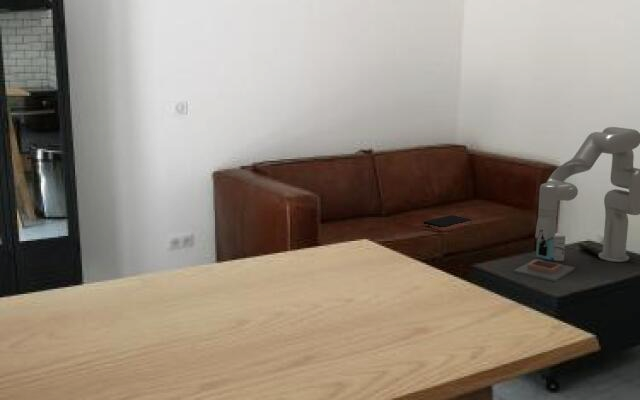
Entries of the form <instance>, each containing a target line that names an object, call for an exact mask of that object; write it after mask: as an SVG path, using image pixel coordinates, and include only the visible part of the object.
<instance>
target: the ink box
mask: <svg viewBox="0 0 640 400" xmlns="http://www.w3.org/2000/svg"><path fill="white" fill-rule="evenodd" d="M553 239H555V241H554V255H553V257H552V258H550V259H547V258H542V259H543V261H548V262H553V261H555V262H556V261H557V262H559V261H560V262H564V261H565V250H566V249H565V248H566V236H565V234H563V233H561V232H560V233H559V232H555V236H554V237H553Z"/></svg>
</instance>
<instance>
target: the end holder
mask: <svg viewBox="0 0 640 400" xmlns="http://www.w3.org/2000/svg"><path fill="white" fill-rule="evenodd" d="M575 269H576V267H575V266H570V265H564V264H562V263H558V262H557V263H556V262H553V261H545V260H544V259H543V260H542V259H536V258H534V259H533V260H531V261H529V262H527V263H525V264H524V265H521V266H519V267H517V268H516V269H514V270H513V273H515V274H519V275H524V276H529V277H533V278H537V279H541V280H546V281H551V282H554V281H555V282H557V281H559V280H560V279H562V278H563V277H565V276H566V275H568V274H570V273H572V271H573V272H574V270H575Z"/></svg>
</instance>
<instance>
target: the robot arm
mask: <svg viewBox="0 0 640 400" xmlns="http://www.w3.org/2000/svg"><path fill="white" fill-rule="evenodd" d="M639 146H640V132H639V131H638V130H636V129H632V128H625V127H618V126H617V127H615V126H609V127H606V128H604V129H603V130H602V132H600V131H595V132H591V133H590V134H588V136H586V139H585V140H584V141H583V143H582V144H581V146H580V147H579V149H578V150H577V152H576V153H575V154H574V156H573V157H572V158H571V159H569V160H568V161H565V162H564V163H563V164H561V165H560V166H558V167H557V168H556V169H555V170H554V171H553V172H552V173H551V174H550V176H549V178H548V179H547V181H546V182H545V183H541V184H540V186H539V194H538V213H537V214H538V217H537V220H536V228H535V236H534V237H535V239H536V243H537V242H538V243H539V255H542V256H546V254H547V247H546V243H547V240H548V239H550V238H553V237H554V236H555V233H557V232H556V230H557V229H556V227H557V217H558V209H559V208H558V205H559V201H566V202H568V201H572V200H575V198H577V195H578V194H579V193H578V192H579V191H578V187H577V186H576V185H575V184H573V183H570V182H566V181H565V180H567V179H568V178H569V177H571V176H574V175H577V174H581V173H585V172H587V171H590V170H592V167H594V165H595V164H596V162H597V161H598V159H599V158H600V156H601V155H602V154H608V155H611V157H612V159H611V169H610V183H611V184H612V185H613V186H615V187H617V189H615V188H614V189H611V190H608V191H607V192H606V193H605V196H604V197H603V198H604V199H603V203H604V209H605V210H604V213H605V217H604V218H605V219H604V231H603V244H602V251H601V252H599V253H598V257H599V258H600V260H603V261H604V260H605V261H609V262H613V263H614V262H615V263H621V262H624V263H625V262H627V261H629V260H630V256H629V255H628V254H627V253H626V250H627V242H628V231H629V217H628V215H632V216H638V215H639V216H640V168H637V167H634V161H635V160H634V159H635V158H634V151H633V150H635V149H637V148H638V147H639ZM618 187H619V188H622V189H625V190H622V189H618ZM627 189H628V191H627ZM542 238H544V239H542ZM537 239H538V241H537ZM543 241H544V242H543Z"/></svg>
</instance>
